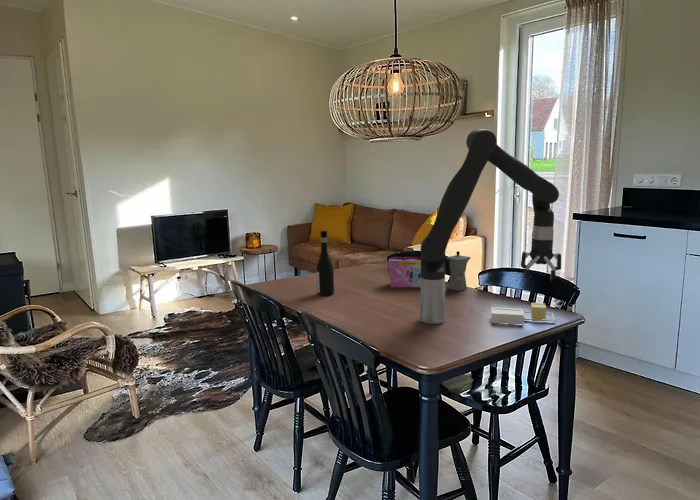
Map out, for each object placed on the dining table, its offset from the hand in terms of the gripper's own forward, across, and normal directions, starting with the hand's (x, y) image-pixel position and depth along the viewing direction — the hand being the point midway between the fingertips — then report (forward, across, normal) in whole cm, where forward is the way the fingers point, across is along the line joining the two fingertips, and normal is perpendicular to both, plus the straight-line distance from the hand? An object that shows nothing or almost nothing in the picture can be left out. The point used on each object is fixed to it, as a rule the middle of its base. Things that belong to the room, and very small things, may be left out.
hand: (539, 279), depth 195 cm
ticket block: (+16, -11, -7) cm, 21 cm away
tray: (+16, 0, 0) cm, 16 cm away
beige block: (+15, 0, 0) cm, 15 cm away
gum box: (+17, -54, +42) cm, 71 cm away
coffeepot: (+16, -34, +40) cm, 55 cm away
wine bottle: (+18, -92, +18) cm, 95 cm away
